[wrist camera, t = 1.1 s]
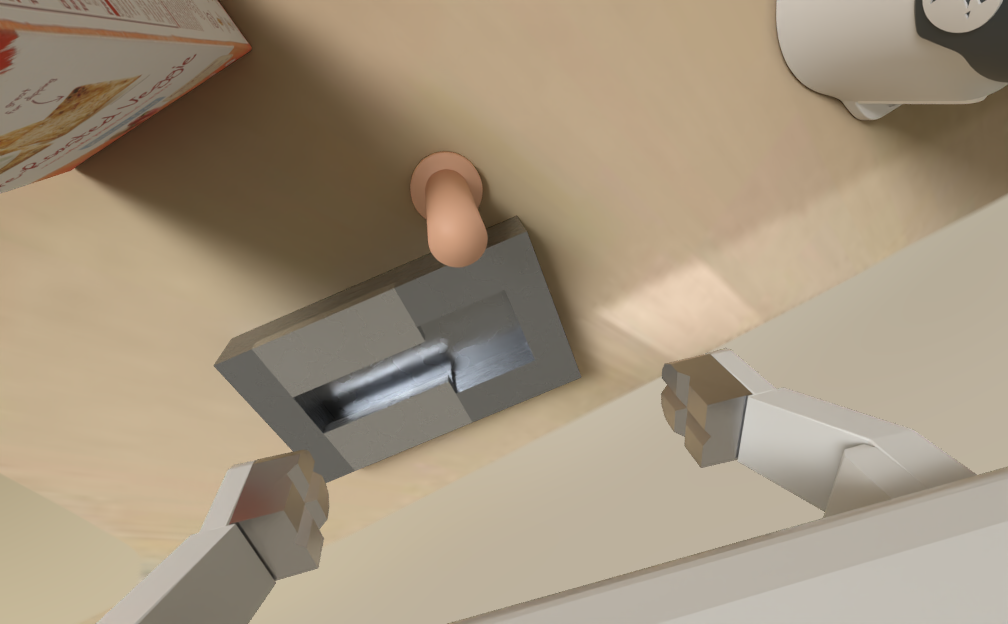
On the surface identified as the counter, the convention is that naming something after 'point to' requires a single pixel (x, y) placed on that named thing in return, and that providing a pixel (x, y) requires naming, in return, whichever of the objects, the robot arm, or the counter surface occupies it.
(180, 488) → the counter surface
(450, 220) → the peg
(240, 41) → the cracker box
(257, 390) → the keyhole board
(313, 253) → the counter surface
